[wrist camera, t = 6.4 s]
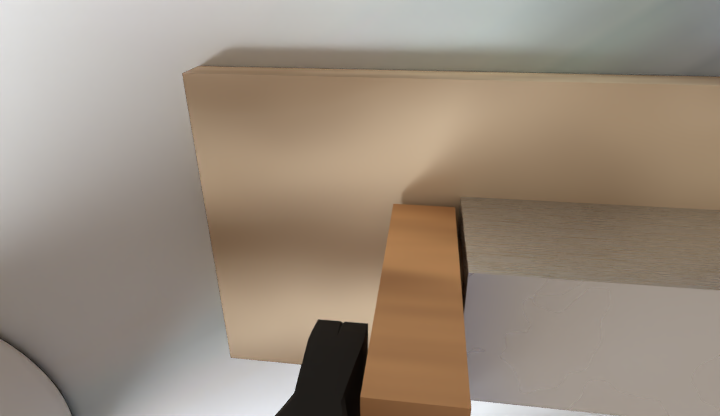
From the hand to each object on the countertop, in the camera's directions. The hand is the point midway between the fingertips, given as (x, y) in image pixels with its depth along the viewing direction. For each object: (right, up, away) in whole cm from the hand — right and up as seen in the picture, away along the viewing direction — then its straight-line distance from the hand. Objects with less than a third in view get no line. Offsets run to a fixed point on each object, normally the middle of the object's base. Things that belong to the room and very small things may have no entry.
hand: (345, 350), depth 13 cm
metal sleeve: (+9, +2, +4) cm, 10 cm away
